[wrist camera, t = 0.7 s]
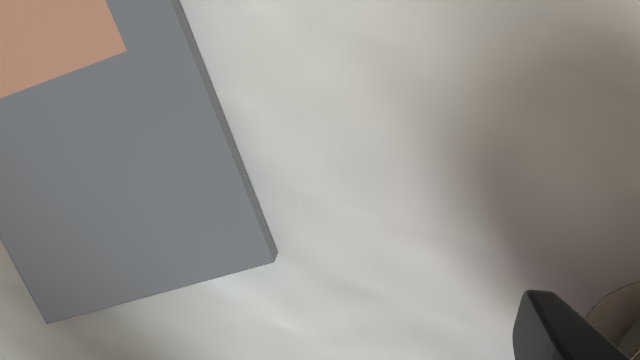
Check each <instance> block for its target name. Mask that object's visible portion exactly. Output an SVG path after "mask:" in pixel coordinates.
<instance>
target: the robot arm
mask: <svg viewBox="0 0 640 360" xmlns="http://www.w3.org/2000/svg"><path fill="white" fill-rule="evenodd" d="M513 348H514V355H515V360H631V359H630V358H629V357H628V356H626V355H625V354H624V353H623V352H622V351H621V350H620V349H618V348H617V347H616V346H615V345H614V344H613V343H611V342H610V341H609V340H608V339H607V338H606V337H605V336H603V335H602V334H601V333H600V332H599V331H598V330H597V329H595V328H594V327H593V326H592V325H591V324H590V323H588V322H587V321H586V320H585V319H584V318H583V317H582V316H580V315H579V314H578V313H577V312H576V311H575V310H573V309H572V308H571V307H570V306H569V305H568V304H567V303H565V302H564V301H563V300H562V299H561V298H560V297H559V296H557V295H556V294H555V293H553V292H550V291H541V290H527V291H525V292H524V294H523V296H522V299H521V302H520V306H519V309H518V313H517V317H516V320H515V324H514V328H513Z"/></svg>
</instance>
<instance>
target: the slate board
mask: <svg viewBox="0 0 640 360" xmlns="http://www.w3.org/2000/svg"><path fill="white" fill-rule="evenodd" d="M0 239H1V241H2V243H3V244H4V246H5V248H6V250H7V252H8V254H9V255H10V257H11V259H12V261H13V263H14V265H15V267H16V268H17V270H18V272H19V274H20V276H21V278H22V280H23V281H24V283H25V285H26V287H27V289H28V291H29V292H30V294H31V296H32V298H33V300H34V302H35V304H36V305H37V307H38V309H39V311H40V313H41V315H42V317H43V318H44V320H45V322H46V324H49V323H53V322H56V321H60V320H64V319H67V318H71V317H75V316H78V315H82V314H86V313H89V312H93V311H97V310H100V309H104V308H108V307H111V306H115V305H119V304H122V303H126V302H130V301H133V300H137V299H141V298H144V297H148V296H152V295H155V294H159V293H163V292H167V291H170V290H174V289H178V288H181V287H185V286H189V285H192V284H196V283H200V282H203V281H207V280H211V279H214V278H218V277H222V276H225V275H229V274H233V273H236V272H240V271H244V270H247V269H251V268H255V267H258V266H262V265H266V264H269V263H273V262H275V259H276V257H277V254H278V251H277V248H276V246H275V243H274V241H273V238H272V236H271V233H270V230H269V228H268V225H267V223H266V220H265V218H264V215H263V213H262V210H261V207H260V205H259V202H258V200H257V197H256V195H255V192H254V190H253V187H252V184H251V182H250V179H249V177H248V174H247V172H246V169H245V167H244V164H243V161H242V159H241V156H240V154H239V151H238V149H237V146H236V144H235V141H234V138H233V136H232V133H231V131H230V128H229V126H228V123H227V121H226V118H225V115H224V113H223V110H222V108H221V105H220V103H219V100H218V97H217V95H216V92H215V90H214V87H213V85H212V82H211V80H210V77H209V74H208V72H207V69H206V67H205V64H204V62H203V59H202V57H201V54H200V51H199V49H198V46H197V44H196V41H195V39H194V36H193V34H192V31H191V28H190V26H189V23H188V21H187V18H186V16H185V13H184V11H183V8H182V5H181V3H180V0H0Z"/></svg>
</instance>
